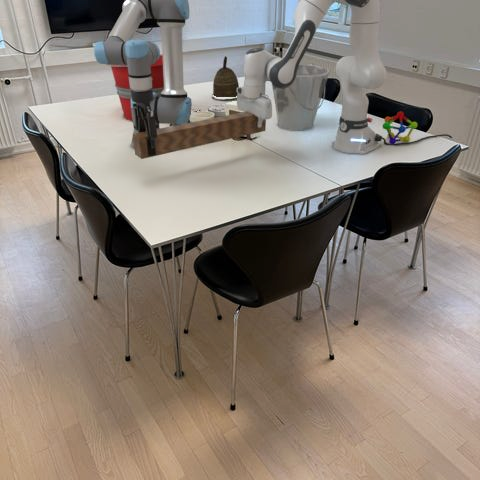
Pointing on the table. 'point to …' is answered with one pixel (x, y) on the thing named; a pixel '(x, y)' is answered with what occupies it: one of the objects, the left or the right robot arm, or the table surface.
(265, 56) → the right robot arm
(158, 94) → the bucket
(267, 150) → the table surface
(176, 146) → the beam
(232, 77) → the bell
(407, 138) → the educational toy
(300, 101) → the bucket
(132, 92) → the left robot arm
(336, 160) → the table surface
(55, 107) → the table surface
